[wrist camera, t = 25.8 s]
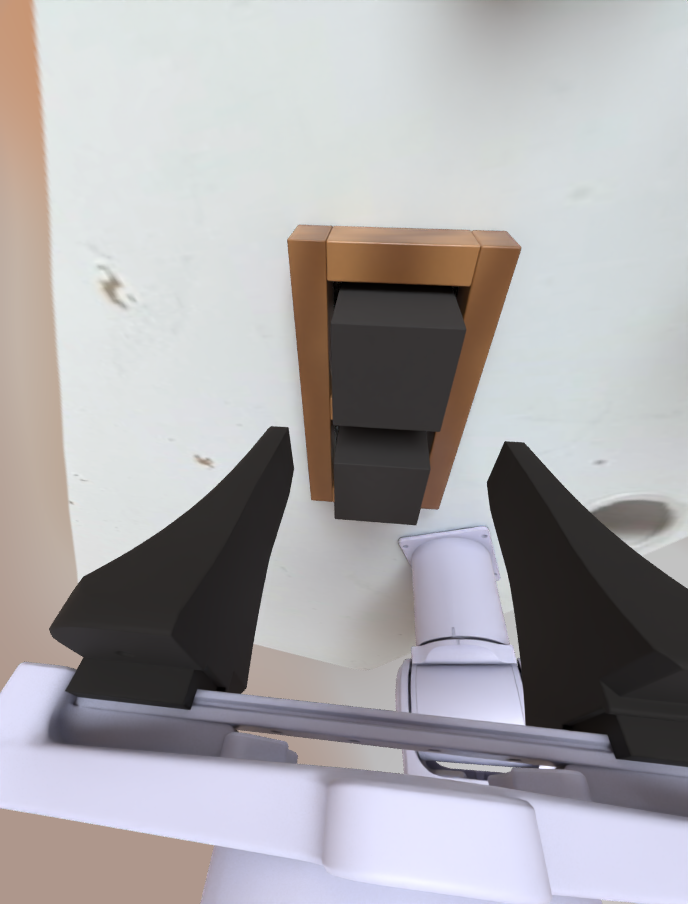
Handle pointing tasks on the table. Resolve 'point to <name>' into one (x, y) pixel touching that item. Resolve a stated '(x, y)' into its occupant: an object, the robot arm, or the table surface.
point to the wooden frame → (394, 262)
